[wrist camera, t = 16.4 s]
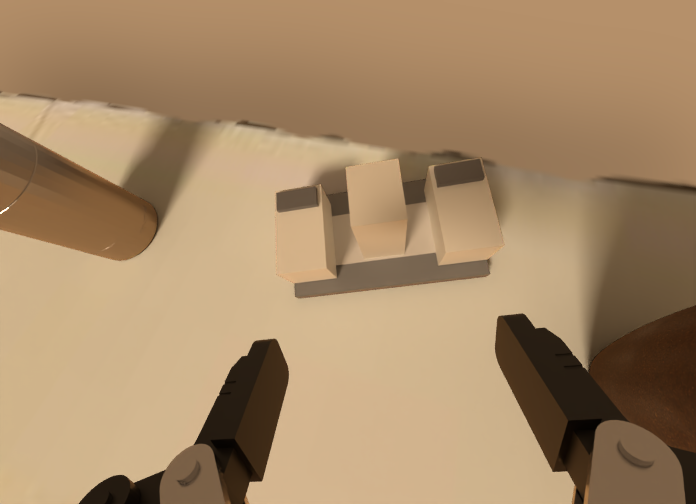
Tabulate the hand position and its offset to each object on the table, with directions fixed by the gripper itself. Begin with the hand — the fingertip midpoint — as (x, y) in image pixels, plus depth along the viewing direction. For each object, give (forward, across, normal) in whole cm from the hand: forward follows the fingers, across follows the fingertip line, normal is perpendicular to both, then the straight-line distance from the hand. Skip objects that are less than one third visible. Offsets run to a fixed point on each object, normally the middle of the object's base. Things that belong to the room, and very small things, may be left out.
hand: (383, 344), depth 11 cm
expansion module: (+22, 0, +6) cm, 23 cm away
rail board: (+23, 0, +7) cm, 24 cm away
